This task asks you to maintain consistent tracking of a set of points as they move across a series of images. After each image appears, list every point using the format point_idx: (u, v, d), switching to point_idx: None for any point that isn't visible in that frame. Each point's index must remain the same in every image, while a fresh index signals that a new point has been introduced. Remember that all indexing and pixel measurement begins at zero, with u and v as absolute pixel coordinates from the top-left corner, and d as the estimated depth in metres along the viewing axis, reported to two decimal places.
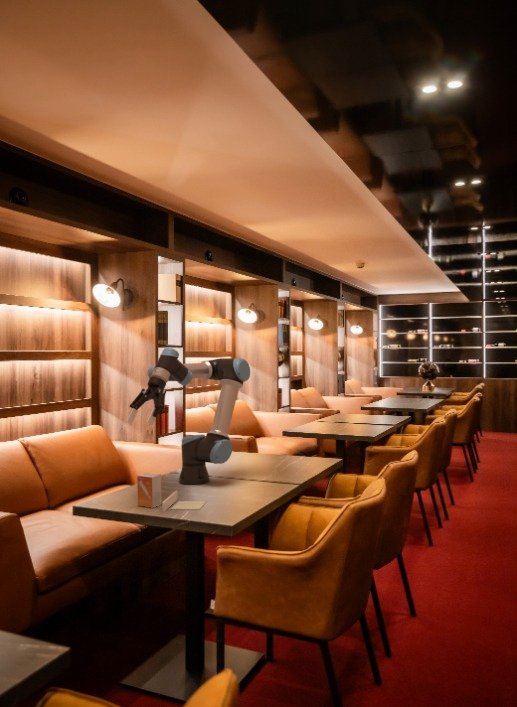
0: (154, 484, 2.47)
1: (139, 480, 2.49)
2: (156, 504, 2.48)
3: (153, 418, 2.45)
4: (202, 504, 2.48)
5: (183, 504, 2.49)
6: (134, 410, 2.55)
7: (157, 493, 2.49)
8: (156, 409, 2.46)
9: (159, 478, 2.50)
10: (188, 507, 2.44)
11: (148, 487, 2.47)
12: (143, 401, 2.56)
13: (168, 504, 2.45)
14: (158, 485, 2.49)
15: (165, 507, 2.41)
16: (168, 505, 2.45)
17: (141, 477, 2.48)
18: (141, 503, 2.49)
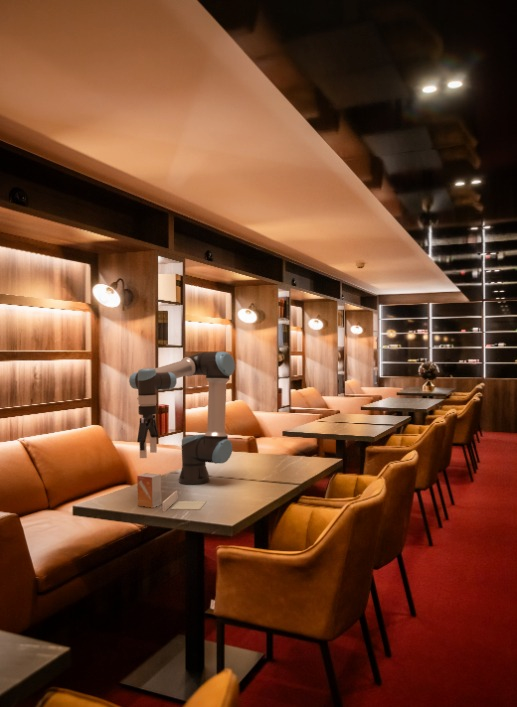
0: (154, 484, 2.47)
1: (139, 480, 2.49)
2: (156, 504, 2.48)
3: (143, 451, 2.43)
4: (202, 504, 2.48)
5: (183, 504, 2.49)
6: (152, 439, 2.57)
7: (157, 493, 2.49)
8: (140, 443, 2.42)
9: (159, 478, 2.50)
10: (188, 507, 2.44)
11: (148, 487, 2.47)
12: (151, 428, 2.54)
13: (168, 504, 2.45)
14: (158, 485, 2.49)
15: (165, 507, 2.41)
16: (168, 505, 2.45)
17: (141, 477, 2.48)
18: (141, 503, 2.49)
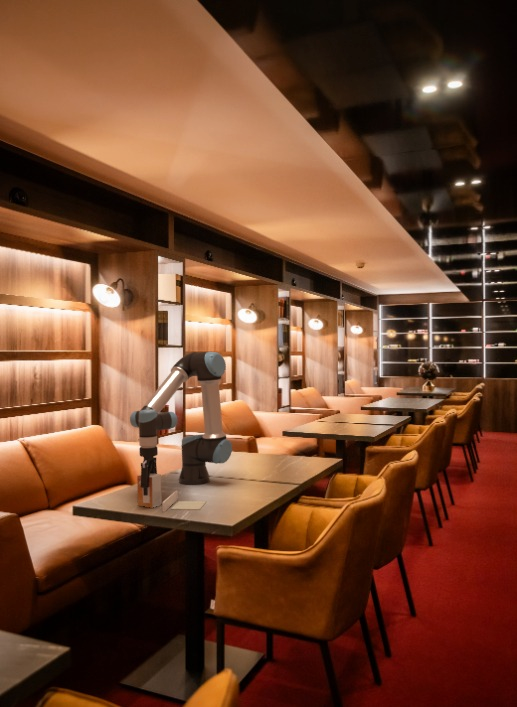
0: (154, 484, 2.47)
1: (139, 480, 2.49)
2: (156, 504, 2.48)
3: (147, 496, 2.46)
4: (202, 504, 2.48)
5: (183, 504, 2.49)
6: None
7: (157, 493, 2.49)
8: (143, 488, 2.45)
9: (159, 478, 2.50)
10: (188, 507, 2.44)
11: None
12: (151, 471, 2.53)
13: (168, 504, 2.45)
14: (158, 485, 2.49)
15: (165, 507, 2.41)
16: (168, 505, 2.45)
17: None
18: (141, 503, 2.49)
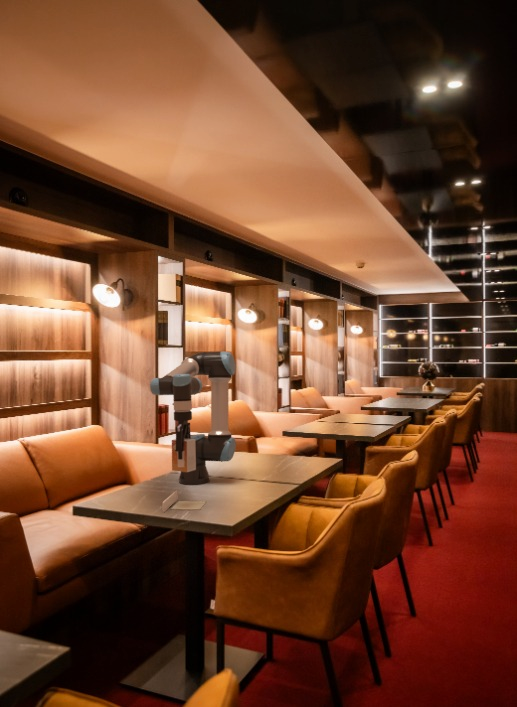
0: (189, 448, 2.45)
1: (173, 445, 2.47)
2: (191, 469, 2.46)
3: (181, 460, 2.44)
4: (202, 504, 2.48)
5: (183, 504, 2.49)
6: None
7: (191, 457, 2.46)
8: (178, 452, 2.43)
9: (193, 442, 2.48)
10: (188, 507, 2.44)
11: None
12: (185, 436, 2.51)
13: (168, 504, 2.45)
14: (192, 449, 2.47)
15: (165, 507, 2.41)
16: (168, 505, 2.45)
17: (175, 442, 2.46)
18: (175, 468, 2.47)
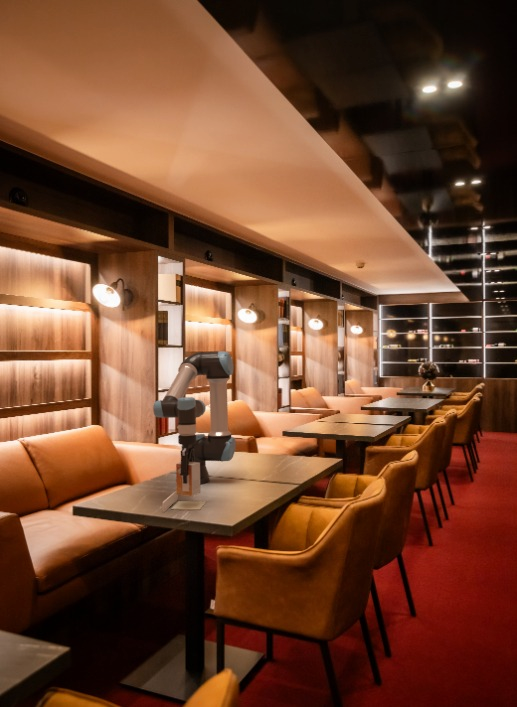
0: (194, 472, 2.45)
1: (178, 468, 2.47)
2: (195, 493, 2.46)
3: (186, 484, 2.43)
4: (202, 504, 2.48)
5: (183, 504, 2.49)
6: None
7: (196, 481, 2.46)
8: (183, 476, 2.43)
9: (198, 466, 2.47)
10: (188, 507, 2.44)
11: None
12: (189, 459, 2.51)
13: (168, 504, 2.45)
14: (197, 473, 2.47)
15: (165, 507, 2.41)
16: (168, 505, 2.45)
17: (180, 465, 2.46)
18: (180, 491, 2.46)
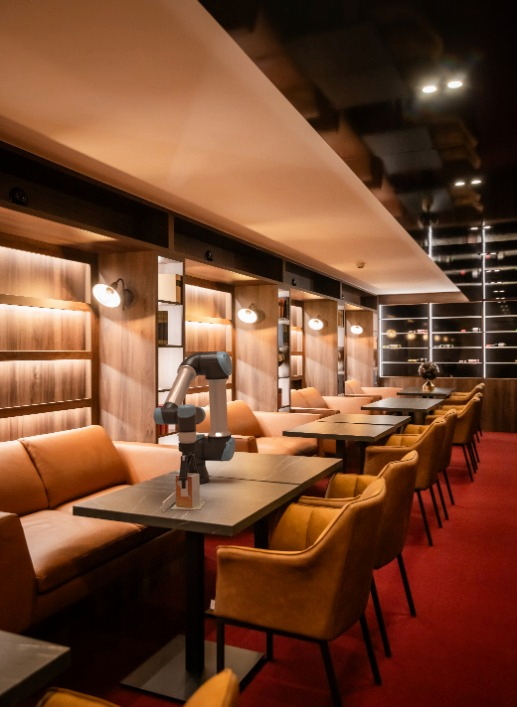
0: (194, 483, 2.44)
1: (177, 480, 2.46)
2: (195, 504, 2.45)
3: (185, 490, 2.41)
4: (202, 504, 2.48)
5: None
6: None
7: (196, 492, 2.46)
8: (181, 481, 2.40)
9: (197, 477, 2.47)
10: (188, 507, 2.44)
11: None
12: (190, 465, 2.52)
13: (168, 504, 2.45)
14: (197, 485, 2.47)
15: (165, 507, 2.41)
16: (168, 505, 2.45)
17: None
18: (180, 503, 2.45)
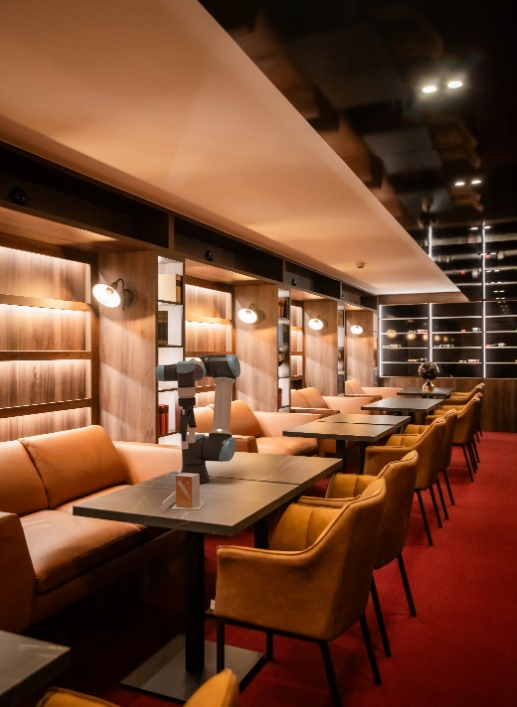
0: (194, 483, 2.44)
1: (177, 480, 2.46)
2: (195, 504, 2.45)
3: (185, 442, 2.49)
4: (202, 504, 2.48)
5: None
6: (190, 429, 2.62)
7: (196, 492, 2.46)
8: (181, 434, 2.48)
9: (197, 477, 2.47)
10: (188, 507, 2.44)
11: (187, 487, 2.44)
12: (190, 419, 2.60)
13: (168, 504, 2.45)
14: (197, 485, 2.47)
15: (165, 507, 2.41)
16: (168, 505, 2.45)
17: (179, 477, 2.45)
18: (180, 503, 2.45)
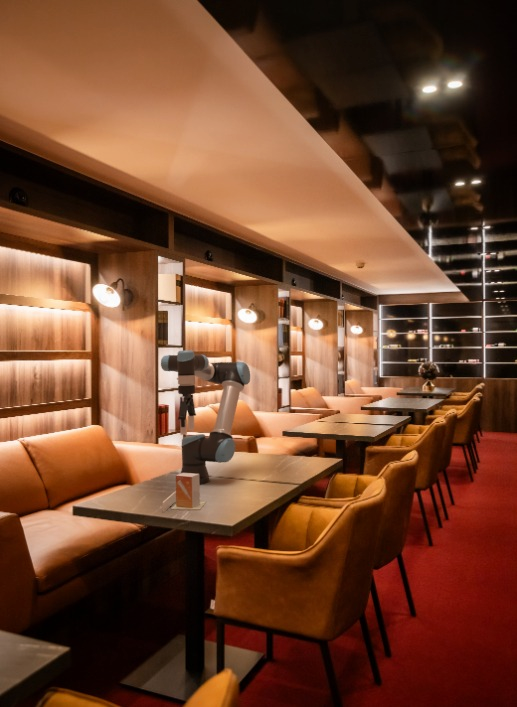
0: (194, 483, 2.44)
1: (177, 480, 2.46)
2: (195, 504, 2.45)
3: (184, 428, 2.57)
4: (202, 504, 2.48)
5: None
6: (190, 417, 2.71)
7: (196, 492, 2.46)
8: (181, 420, 2.56)
9: (197, 477, 2.47)
10: (188, 507, 2.44)
11: (187, 487, 2.44)
12: (189, 407, 2.68)
13: (168, 504, 2.45)
14: (197, 485, 2.47)
15: (165, 507, 2.41)
16: (168, 505, 2.45)
17: (179, 477, 2.45)
18: (180, 503, 2.45)
